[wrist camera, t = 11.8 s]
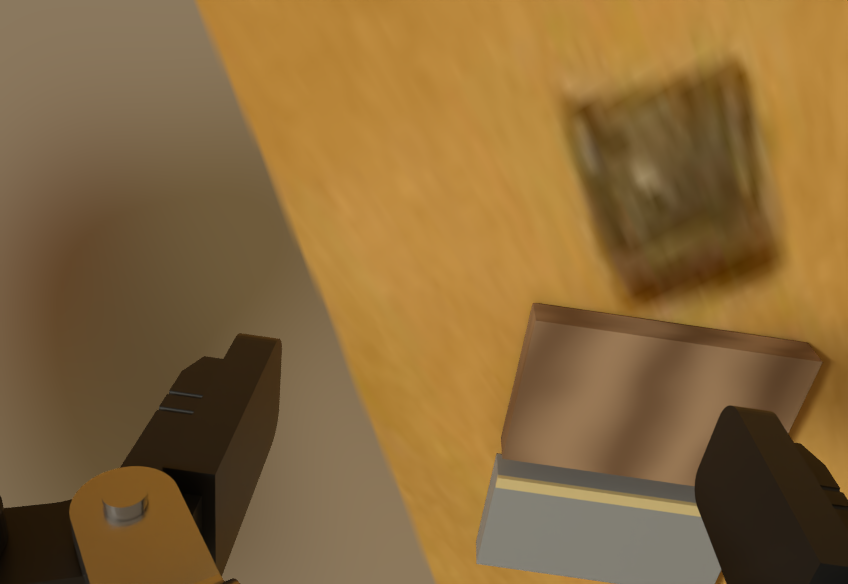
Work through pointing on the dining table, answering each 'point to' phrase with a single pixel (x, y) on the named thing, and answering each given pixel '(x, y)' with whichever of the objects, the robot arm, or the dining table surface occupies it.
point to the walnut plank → (641, 391)
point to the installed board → (593, 526)
